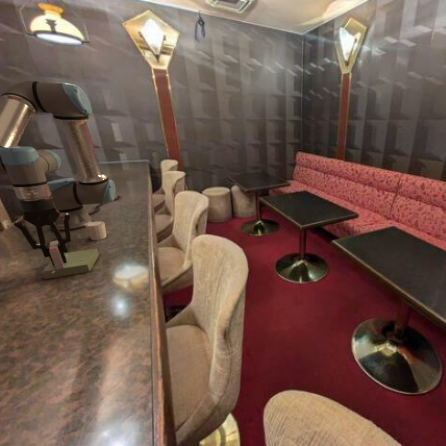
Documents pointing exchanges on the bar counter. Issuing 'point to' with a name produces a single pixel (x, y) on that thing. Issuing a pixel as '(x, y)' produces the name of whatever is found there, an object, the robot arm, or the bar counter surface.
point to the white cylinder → (96, 230)
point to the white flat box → (56, 255)
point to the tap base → (73, 264)
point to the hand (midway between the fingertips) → (59, 262)
